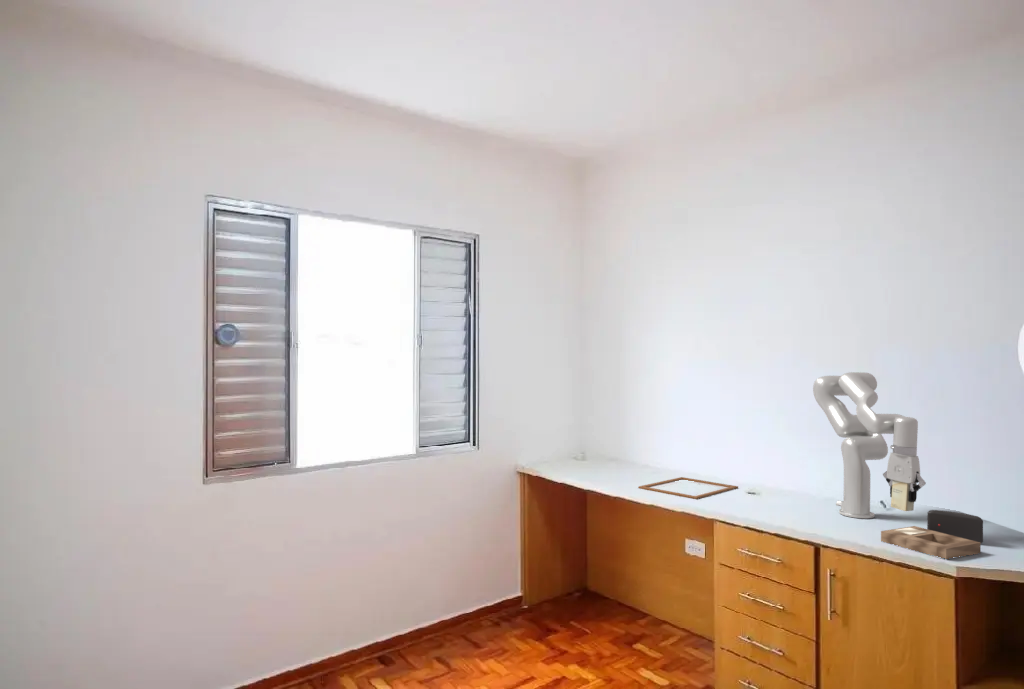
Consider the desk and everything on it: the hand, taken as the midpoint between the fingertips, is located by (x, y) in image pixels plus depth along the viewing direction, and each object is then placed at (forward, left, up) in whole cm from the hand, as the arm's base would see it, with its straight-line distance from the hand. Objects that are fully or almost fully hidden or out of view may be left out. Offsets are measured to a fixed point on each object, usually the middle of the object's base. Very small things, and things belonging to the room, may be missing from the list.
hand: (902, 498), depth 240 cm
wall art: (-90, -23, -13) cm, 94 cm away
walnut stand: (+17, -11, -12) cm, 23 cm away
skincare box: (0, 0, -4) cm, 4 cm away
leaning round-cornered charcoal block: (+15, +6, -12) cm, 20 cm away
